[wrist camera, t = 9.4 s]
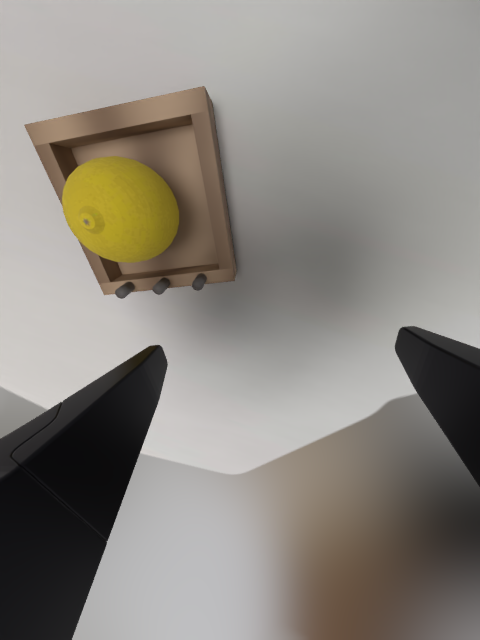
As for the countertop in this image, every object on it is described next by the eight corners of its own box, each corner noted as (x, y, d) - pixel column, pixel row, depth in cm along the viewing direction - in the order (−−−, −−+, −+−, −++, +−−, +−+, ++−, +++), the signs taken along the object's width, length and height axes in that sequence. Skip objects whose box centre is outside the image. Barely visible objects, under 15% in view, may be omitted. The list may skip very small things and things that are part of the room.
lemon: (103, 196, 17) (-6, 200, 10) (156, 145, 15) (71, 105, 8) (154, 259, 19) (96, 299, 12) (206, 221, 17) (173, 241, 10)
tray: (212, 102, 14) (198, 73, 11) (236, 270, 20) (232, 288, 16) (56, 134, 15) (-1, 117, 12) (119, 284, 21) (93, 302, 17)
